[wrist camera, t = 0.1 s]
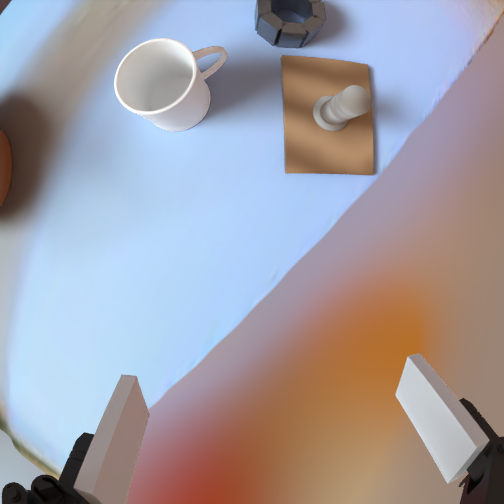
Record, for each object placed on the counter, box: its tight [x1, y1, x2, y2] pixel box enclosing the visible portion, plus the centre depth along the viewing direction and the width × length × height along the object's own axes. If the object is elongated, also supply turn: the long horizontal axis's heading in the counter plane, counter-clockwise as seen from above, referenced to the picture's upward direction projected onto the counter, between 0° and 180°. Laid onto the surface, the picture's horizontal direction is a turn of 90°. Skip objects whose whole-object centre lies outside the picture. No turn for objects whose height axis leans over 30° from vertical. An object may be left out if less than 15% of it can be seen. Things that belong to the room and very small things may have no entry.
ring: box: [255, 0, 326, 48], centre depth 28 cm, size 8×8×5 cm
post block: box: [281, 55, 374, 175], centre depth 30 cm, size 16×12×10 cm
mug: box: [114, 38, 227, 132], centre depth 27 cm, size 12×8×12 cm
